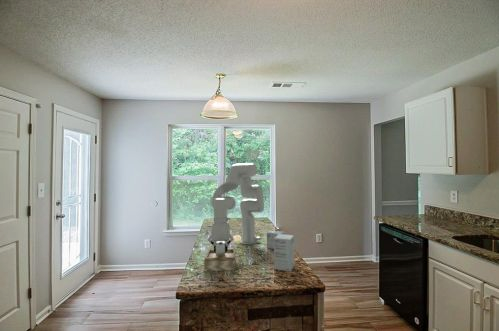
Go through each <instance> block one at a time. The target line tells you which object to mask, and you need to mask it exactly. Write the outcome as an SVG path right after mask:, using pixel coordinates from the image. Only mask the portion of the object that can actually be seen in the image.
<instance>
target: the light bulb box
mask: <svg viewBox="0 0 499 331" xmlns="http://www.w3.org/2000/svg"><path fill="white" fill-rule="evenodd" d="M278 234H283V235H285V231H281V230H280V231H279V230H268V231H267V232H266V248H267V249H273V250H274V238H275V237H276V236H277V235H278Z"/></svg>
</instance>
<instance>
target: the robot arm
mask: <svg viewBox="0 0 499 331" xmlns="http://www.w3.org/2000/svg"><path fill="white" fill-rule="evenodd" d="M227 173H228V174H227V175H226V178H225V179H226V180H225V181H224V182H223V183H222V184H220V185H219V186H218V187H216V189H215V190H214V193H213V195H212V198H211V202H210V203H211V207H212V208H213V222H212V224H211V234H210V236H209V237H208V238H207V242H209V243H210V244H211V245H212V246H213V250H214V252H215V254H216V242H217V241H225V253H226V252H227V251H228V248H229V245H230V243H232V242H233V241H234V237H233V236H232V234H231V231H230V223H229V221H230V220H231V219H230V217H228V210H230V211H231V210H233V209H234V208H235V207H236V205H237V202H236V201H237V200H236V199H235V198H234V197H233V196H223V195H224V194H226V193H229V192H231V191H234V190H236V189H237V188H238V187H239V186H240V195H241V197H242V198H243V199H242V200H241V201H240V203H239V204H240V205H239V206H240V213H241V239H240V240H239V243H240V244H242V245H255V244H257V243H258V240H259V241H261V240H262V236H256V227H255V226H256V225H255V224H256V223H255V222H256V221H255V219H256V218H255V216H254V214H253V213H263V212H264V210H265V199H264V189H263V186H261V185H259V184H253V182H252V177H254V176H256V175H257V173H258V166H257V164H256V163H235V164H232V165H231V166H230V168H229V171H228V172H227Z"/></svg>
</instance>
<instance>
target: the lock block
mask: <svg viewBox="0 0 499 331" xmlns="http://www.w3.org/2000/svg"><path fill="white" fill-rule="evenodd" d="M216 256H225V241H216Z"/></svg>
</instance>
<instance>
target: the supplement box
mask: <svg viewBox="0 0 499 331" xmlns="http://www.w3.org/2000/svg"><path fill="white" fill-rule="evenodd" d="M273 254H274V255H273V259H274V261H273V268H274V270H277V269H278V270H277V271H286V272H291V271H292V270H293V269H294V267H295V265H296V264H295V263H296V260H295V235H291V234H284V235H283V234H278V235H277V236H276V237H275V238H274V249H273Z"/></svg>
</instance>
